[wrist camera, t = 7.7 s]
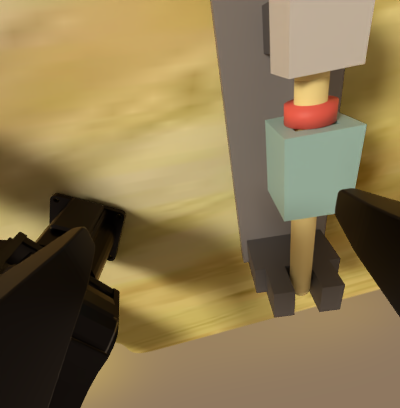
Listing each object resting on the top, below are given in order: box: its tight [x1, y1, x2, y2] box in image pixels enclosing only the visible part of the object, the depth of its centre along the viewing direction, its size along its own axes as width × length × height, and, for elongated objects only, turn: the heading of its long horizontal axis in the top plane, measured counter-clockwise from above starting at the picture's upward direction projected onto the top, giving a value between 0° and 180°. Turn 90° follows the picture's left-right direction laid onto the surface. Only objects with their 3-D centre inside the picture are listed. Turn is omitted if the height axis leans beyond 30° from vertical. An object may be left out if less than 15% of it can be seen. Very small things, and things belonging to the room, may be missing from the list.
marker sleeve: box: [265, 112, 367, 222], centre depth 14 cm, size 5×4×4 cm
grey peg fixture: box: [210, 0, 375, 317], centre depth 17 cm, size 22×8×8 cm, turn 10°
